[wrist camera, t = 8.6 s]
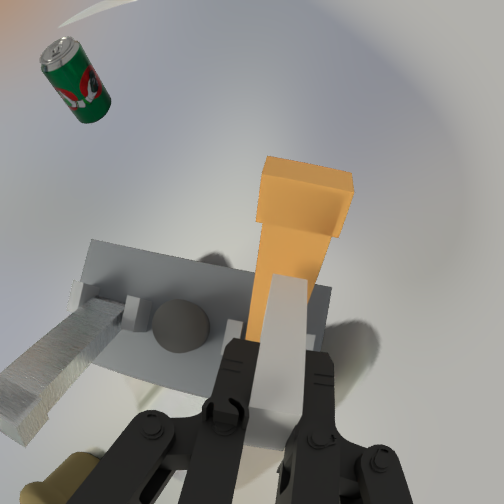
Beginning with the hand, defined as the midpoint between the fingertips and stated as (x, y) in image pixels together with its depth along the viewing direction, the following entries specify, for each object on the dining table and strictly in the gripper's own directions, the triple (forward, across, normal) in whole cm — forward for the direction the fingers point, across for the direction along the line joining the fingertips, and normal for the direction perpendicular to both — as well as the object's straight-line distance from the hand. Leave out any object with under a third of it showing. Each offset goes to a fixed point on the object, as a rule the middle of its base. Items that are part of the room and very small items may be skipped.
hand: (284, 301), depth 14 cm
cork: (-4, -16, -27) cm, 31 cm away
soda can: (+26, -26, +3) cm, 37 cm away
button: (+5, -6, -8) cm, 12 cm away
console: (+9, -6, -13) cm, 17 cm away
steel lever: (+5, -12, -8) cm, 15 cm away
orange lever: (+5, 0, -8) cm, 9 cm away
